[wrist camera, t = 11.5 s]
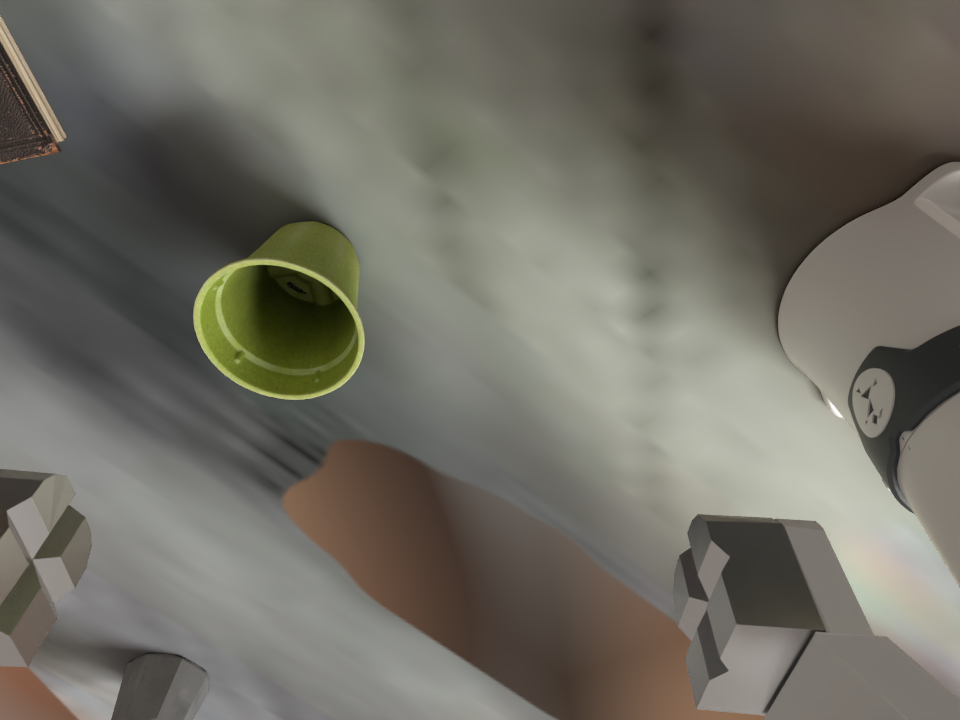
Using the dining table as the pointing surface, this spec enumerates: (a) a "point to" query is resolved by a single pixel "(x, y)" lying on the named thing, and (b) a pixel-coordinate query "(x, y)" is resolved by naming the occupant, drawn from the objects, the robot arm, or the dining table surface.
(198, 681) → the coffeepot
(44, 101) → the hardcover book
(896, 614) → the dining table surface
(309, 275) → the plant pot
